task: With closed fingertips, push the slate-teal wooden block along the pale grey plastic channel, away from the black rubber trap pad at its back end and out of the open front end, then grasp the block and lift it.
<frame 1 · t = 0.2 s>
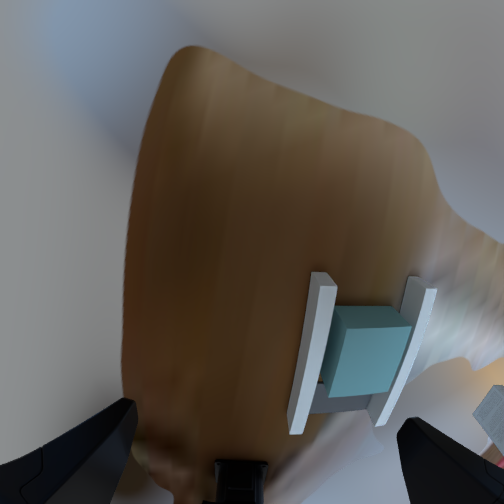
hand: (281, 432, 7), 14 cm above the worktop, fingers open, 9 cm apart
skincare box: (487, 398, 26), on the worktop
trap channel: (352, 353, 22), on the worktop
teal block: (355, 338, 22), on the worktop
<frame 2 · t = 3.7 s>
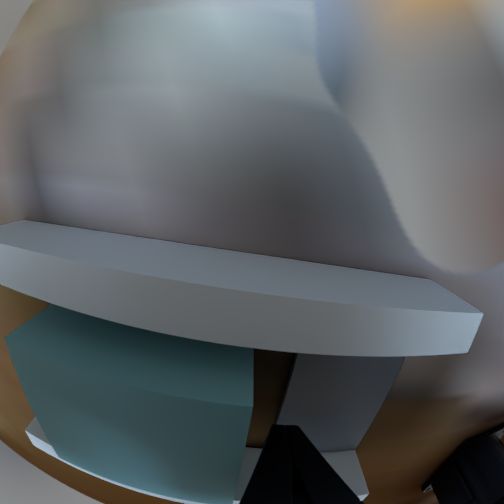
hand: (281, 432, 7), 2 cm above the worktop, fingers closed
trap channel: (196, 381, 9), on the worktop
teal block: (157, 369, 9), on the worktop, touching gripper
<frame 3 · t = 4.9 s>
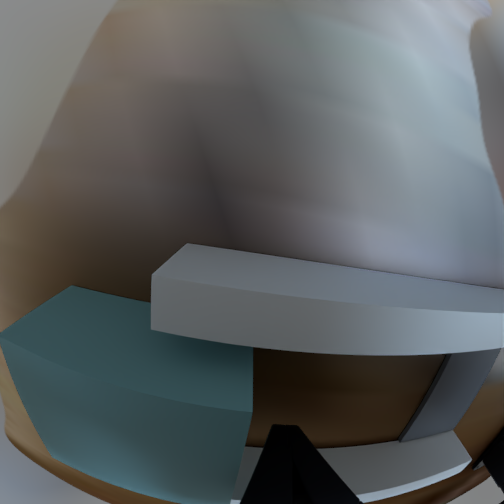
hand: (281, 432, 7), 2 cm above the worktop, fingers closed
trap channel: (372, 392, 9), on the worktop
teal block: (153, 369, 9), on the worktop, touching gripper
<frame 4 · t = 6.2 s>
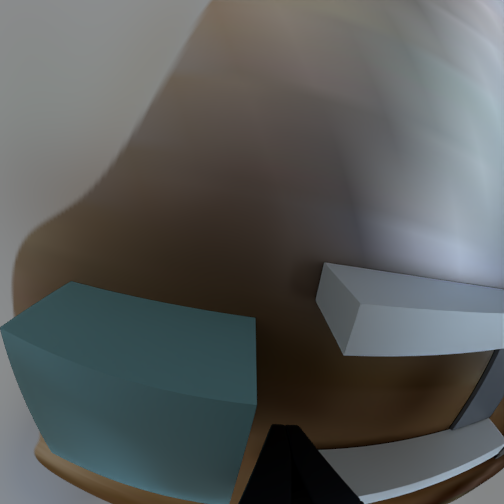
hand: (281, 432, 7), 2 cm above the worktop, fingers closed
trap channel: (442, 386, 9), on the worktop
teal block: (154, 364, 9), on the worktop
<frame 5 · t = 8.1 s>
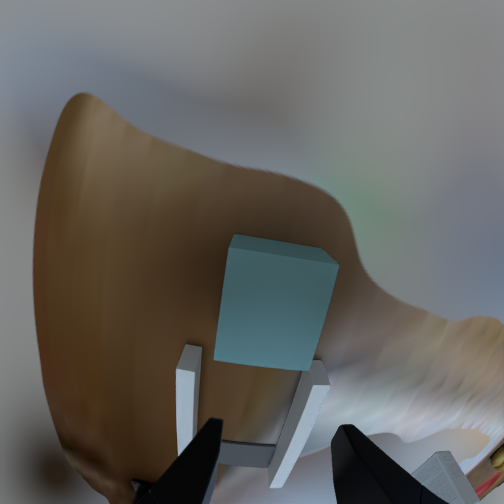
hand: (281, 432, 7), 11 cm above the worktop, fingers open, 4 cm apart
skincare box: (429, 462, 25), on the worktop
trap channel: (241, 421, 21), on the worktop
teal block: (269, 289, 18), on the worktop
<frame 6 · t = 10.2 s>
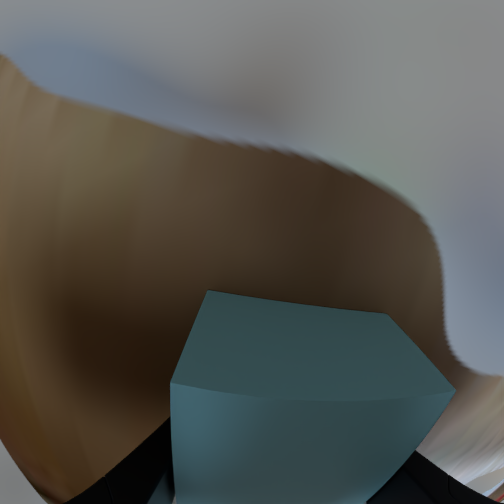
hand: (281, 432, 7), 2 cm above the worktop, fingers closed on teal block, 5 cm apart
teal block: (280, 389, 8), on the worktop, touching gripper
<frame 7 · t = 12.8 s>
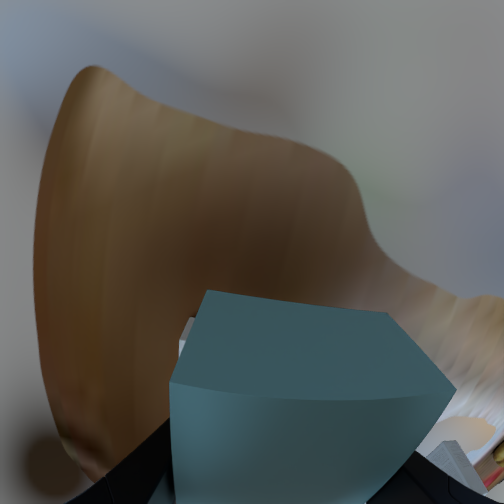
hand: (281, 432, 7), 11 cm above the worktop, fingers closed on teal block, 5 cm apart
skincare box: (436, 452, 24), on the worktop
teal block: (280, 389, 8), point 10 cm above the worktop, touching gripper
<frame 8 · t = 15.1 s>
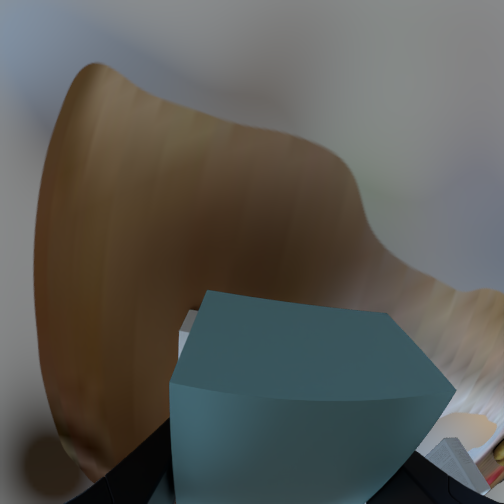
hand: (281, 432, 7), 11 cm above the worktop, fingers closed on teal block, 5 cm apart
skincare box: (437, 449, 24), on the worktop
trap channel: (246, 398, 20), on the worktop
teal block: (280, 389, 8), point 10 cm above the worktop, touching gripper
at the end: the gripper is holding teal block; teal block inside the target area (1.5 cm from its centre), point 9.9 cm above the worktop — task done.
